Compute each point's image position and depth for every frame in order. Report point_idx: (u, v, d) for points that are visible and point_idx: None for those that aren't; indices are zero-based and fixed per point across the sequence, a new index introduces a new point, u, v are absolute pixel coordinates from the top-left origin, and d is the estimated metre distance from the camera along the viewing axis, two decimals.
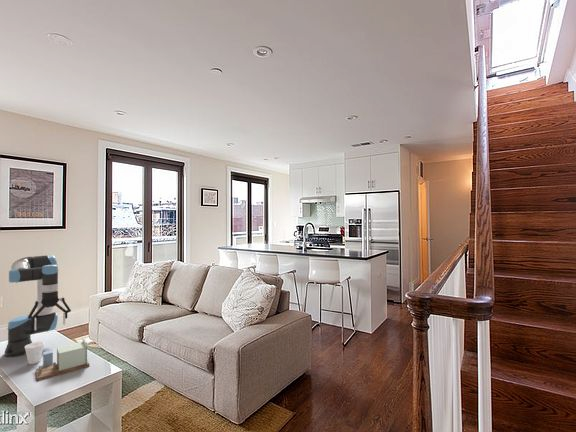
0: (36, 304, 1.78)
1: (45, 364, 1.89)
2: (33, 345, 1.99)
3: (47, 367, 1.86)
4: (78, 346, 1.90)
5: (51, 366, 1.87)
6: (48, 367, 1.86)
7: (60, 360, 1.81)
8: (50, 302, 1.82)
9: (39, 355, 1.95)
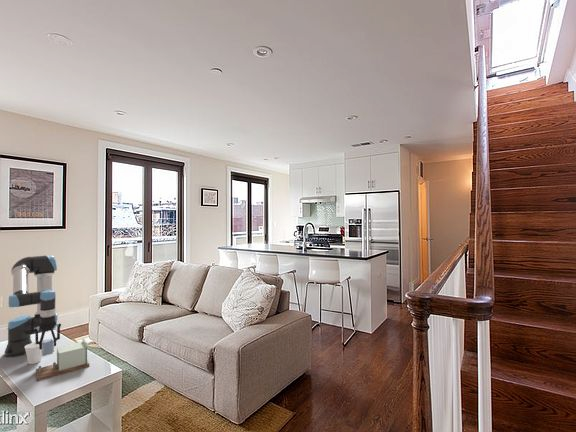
0: (36, 331, 1.87)
1: (45, 352, 1.90)
2: (33, 345, 1.99)
3: (47, 367, 1.86)
4: (78, 346, 1.90)
5: (51, 366, 1.87)
6: (48, 367, 1.86)
7: (60, 360, 1.81)
8: (48, 325, 1.91)
9: (39, 355, 1.95)
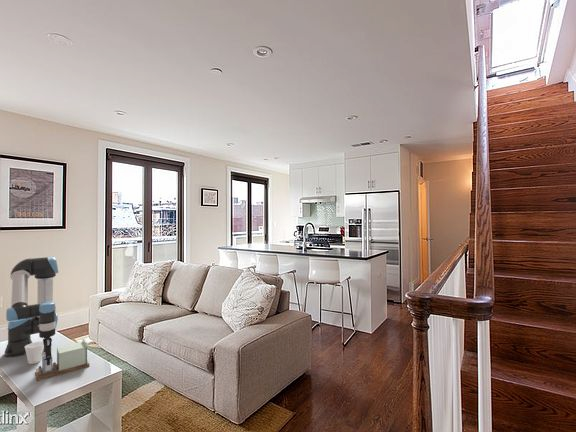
0: None
1: (42, 368, 1.81)
2: (33, 345, 1.99)
3: None
4: (78, 346, 1.90)
5: None
6: None
7: (60, 360, 1.81)
8: None
9: (39, 355, 1.95)
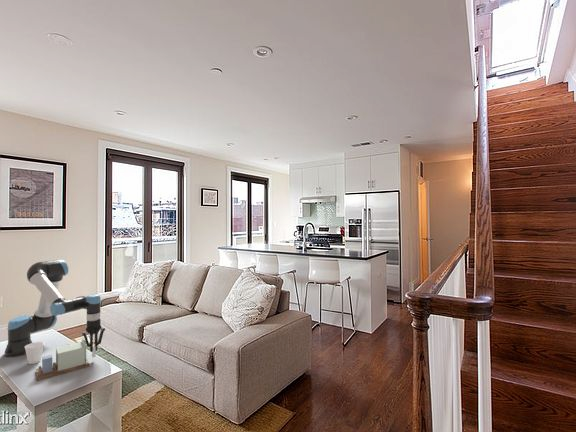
0: (84, 335, 1.93)
1: (42, 368, 1.81)
2: (33, 345, 1.99)
3: None
4: (77, 347, 1.90)
5: None
6: None
7: (59, 361, 1.81)
8: (94, 328, 1.97)
9: (39, 355, 1.95)
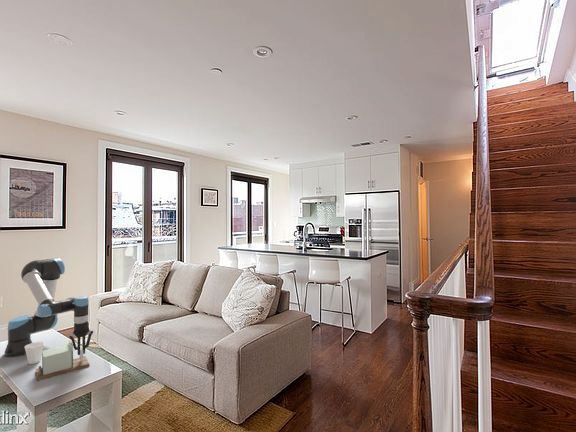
0: (71, 338, 1.89)
1: (42, 368, 1.81)
2: (33, 345, 1.99)
3: None
4: (64, 350, 1.85)
5: None
6: None
7: (44, 364, 1.77)
8: (82, 331, 1.93)
9: (39, 355, 1.95)
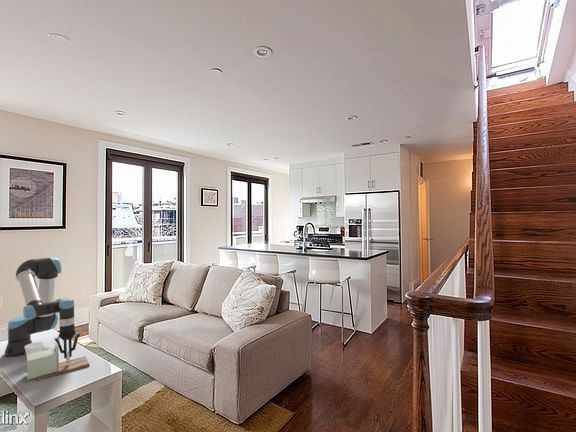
0: (57, 341, 1.84)
1: None
2: (33, 345, 1.99)
3: None
4: (49, 353, 1.81)
5: None
6: None
7: (28, 368, 1.72)
8: (68, 334, 1.88)
9: None
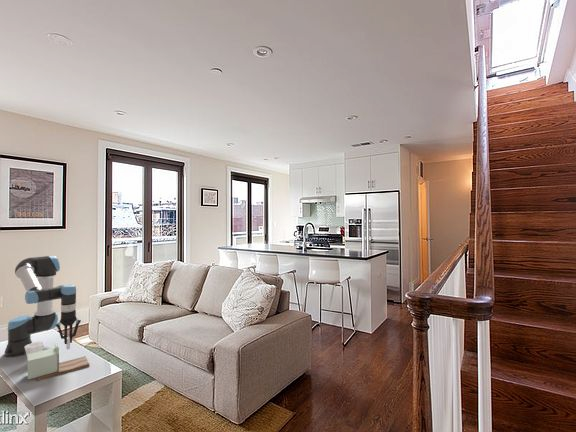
0: (58, 326, 1.86)
1: None
2: (33, 345, 1.99)
3: None
4: (49, 353, 1.81)
5: None
6: None
7: (29, 368, 1.72)
8: (69, 320, 1.89)
9: None
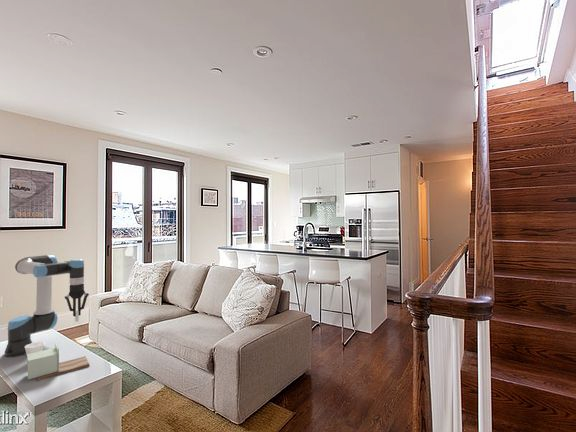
0: (67, 298, 1.91)
1: None
2: (33, 345, 1.99)
3: None
4: (49, 353, 1.81)
5: None
6: None
7: (29, 368, 1.72)
8: (77, 293, 1.94)
9: None
